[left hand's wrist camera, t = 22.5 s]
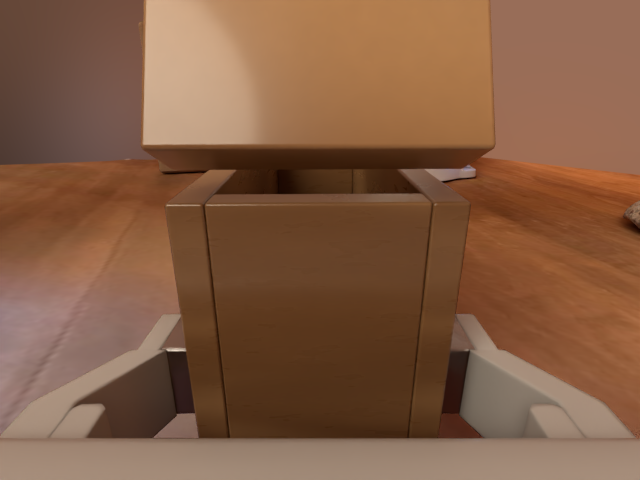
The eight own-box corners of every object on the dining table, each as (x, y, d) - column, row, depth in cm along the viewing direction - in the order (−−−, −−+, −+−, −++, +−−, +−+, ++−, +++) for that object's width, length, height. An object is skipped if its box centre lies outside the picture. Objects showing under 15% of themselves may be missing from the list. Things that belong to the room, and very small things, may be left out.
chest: (272, 308, 23) (263, 126, 19) (358, 307, 23) (365, 126, 19) (220, 592, 10) (162, 204, 6) (417, 588, 10) (473, 202, 6)
